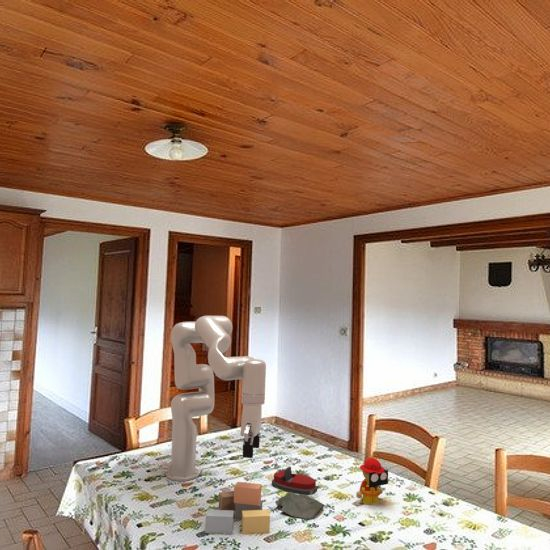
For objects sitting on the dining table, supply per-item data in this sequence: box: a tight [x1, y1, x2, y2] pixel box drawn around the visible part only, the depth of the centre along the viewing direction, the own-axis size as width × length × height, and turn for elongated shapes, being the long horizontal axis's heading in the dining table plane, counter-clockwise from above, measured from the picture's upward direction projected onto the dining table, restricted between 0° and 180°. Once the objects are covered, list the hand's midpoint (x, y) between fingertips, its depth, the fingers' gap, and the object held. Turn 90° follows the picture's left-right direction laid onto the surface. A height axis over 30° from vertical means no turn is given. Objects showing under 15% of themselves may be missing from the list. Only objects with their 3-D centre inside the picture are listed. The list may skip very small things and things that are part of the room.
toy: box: [355, 457, 389, 505], centre depth 156 cm, size 11×9×15 cm
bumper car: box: [268, 454, 318, 496], centre depth 167 cm, size 10×20×10 cm, turn 61°
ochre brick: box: [241, 509, 271, 535], centre depth 134 cm, size 8×4×5 cm, turn 99°
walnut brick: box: [218, 490, 235, 512], centre depth 148 cm, size 8×4×5 cm, turn 112°
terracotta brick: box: [233, 481, 262, 505], centre depth 142 cm, size 8×4×5 cm, turn 80°
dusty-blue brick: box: [204, 509, 235, 535], centre depth 133 cm, size 8×4×5 cm, turn 91°
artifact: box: [275, 492, 325, 520], centre depth 149 cm, size 14×4×15 cm
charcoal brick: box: [234, 499, 263, 521], centre depth 142 cm, size 8×4×5 cm, turn 81°
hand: (251, 452), depth 143 cm, fingers open, 9 cm apart
